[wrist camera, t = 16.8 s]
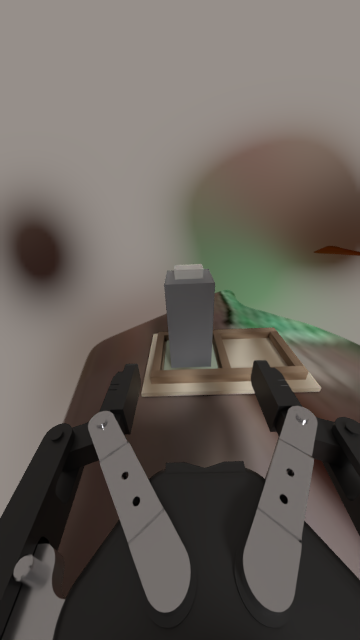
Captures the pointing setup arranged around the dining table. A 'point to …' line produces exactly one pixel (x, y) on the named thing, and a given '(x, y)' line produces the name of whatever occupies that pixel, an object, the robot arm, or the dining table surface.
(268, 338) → the dock
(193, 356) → the plug
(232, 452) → the dining table surface
